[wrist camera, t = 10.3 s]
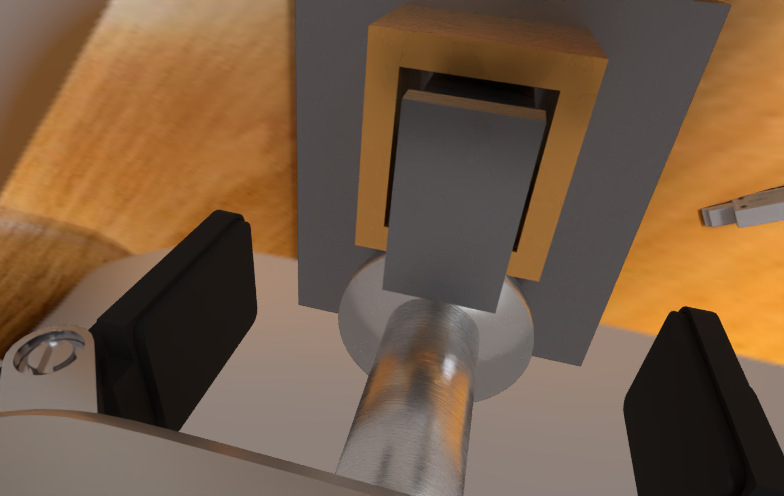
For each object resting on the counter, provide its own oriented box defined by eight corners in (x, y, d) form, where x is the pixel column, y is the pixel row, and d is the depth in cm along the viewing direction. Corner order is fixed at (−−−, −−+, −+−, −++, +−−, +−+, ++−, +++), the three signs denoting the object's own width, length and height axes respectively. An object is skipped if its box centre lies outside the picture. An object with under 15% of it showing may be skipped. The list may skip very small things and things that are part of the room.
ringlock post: (306, -50, 24) (-168, -2, 7) (719, 0, 21) (1344, 233, 5) (306, 302, 35) (120, 623, 19) (574, 360, 33) (623, 784, 16)
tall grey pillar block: (447, 35, 23) (401, 98, 14) (537, 47, 22) (546, 121, 14) (427, 174, 26) (382, 289, 18) (504, 187, 26) (495, 313, 17)
